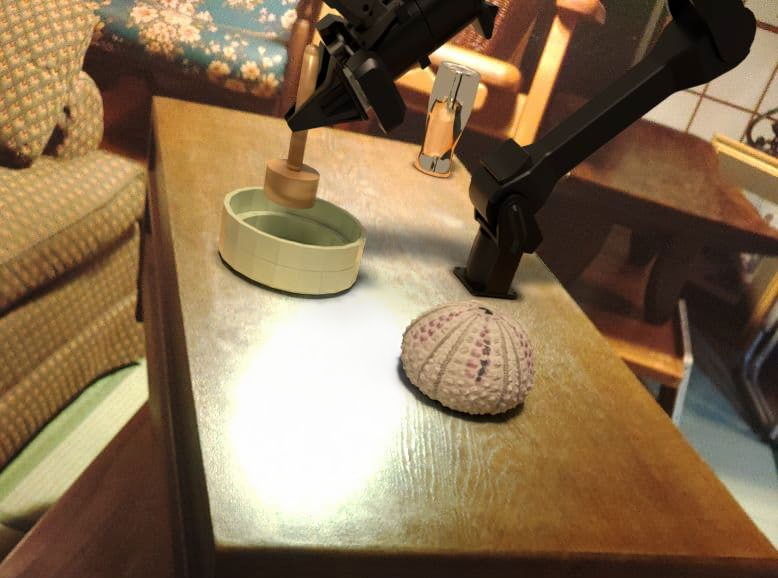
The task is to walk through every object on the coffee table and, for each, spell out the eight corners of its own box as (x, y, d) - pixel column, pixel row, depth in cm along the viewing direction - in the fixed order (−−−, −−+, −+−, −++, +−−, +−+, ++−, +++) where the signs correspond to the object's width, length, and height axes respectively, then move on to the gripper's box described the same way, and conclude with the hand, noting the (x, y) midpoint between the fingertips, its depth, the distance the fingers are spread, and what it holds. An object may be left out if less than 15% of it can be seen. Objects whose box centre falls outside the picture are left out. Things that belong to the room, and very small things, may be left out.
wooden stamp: (321, 199, 81) (350, 50, 72) (305, 214, 77) (333, 57, 68) (273, 183, 81) (295, 31, 72) (255, 196, 77) (276, 37, 68)
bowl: (372, 304, 80) (385, 255, 77) (233, 293, 74) (240, 239, 71) (332, 243, 90) (342, 197, 87) (207, 228, 84) (212, 178, 81)
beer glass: (449, 182, 121) (480, 79, 111) (408, 168, 121) (436, 64, 111) (454, 171, 126) (484, 72, 116) (415, 158, 126) (442, 58, 116)
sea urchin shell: (548, 402, 74) (582, 330, 69) (472, 443, 65) (505, 363, 60) (447, 338, 79) (472, 266, 74) (364, 367, 70) (386, 288, 65)
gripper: (354, -85, 71) (226, 22, 75) (407, -54, 59) (250, 73, 62) (408, 30, 79) (289, 122, 83) (465, 79, 66) (322, 185, 70)
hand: (287, 124), depth 74 cm, fingers closed on wooden stamp
